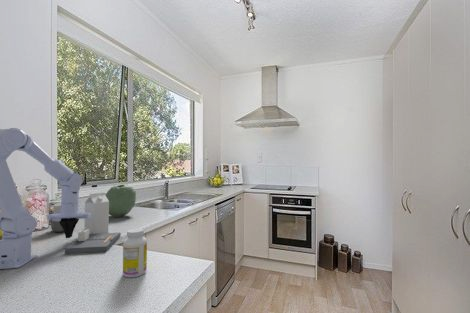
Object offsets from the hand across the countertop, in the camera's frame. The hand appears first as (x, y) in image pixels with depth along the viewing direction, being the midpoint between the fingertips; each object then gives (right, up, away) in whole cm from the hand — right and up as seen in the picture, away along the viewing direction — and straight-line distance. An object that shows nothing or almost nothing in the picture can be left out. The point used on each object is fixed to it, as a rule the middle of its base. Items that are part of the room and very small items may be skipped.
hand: (68, 237), depth 94 cm
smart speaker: (-18, -4, +21) cm, 28 cm away
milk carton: (+2, -4, +15) cm, 16 cm away
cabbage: (-5, -5, +52) cm, 52 cm away
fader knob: (+5, -1, +1) cm, 5 cm away
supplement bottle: (+36, -3, -23) cm, 42 cm away
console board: (+10, -4, +2) cm, 10 cm away
